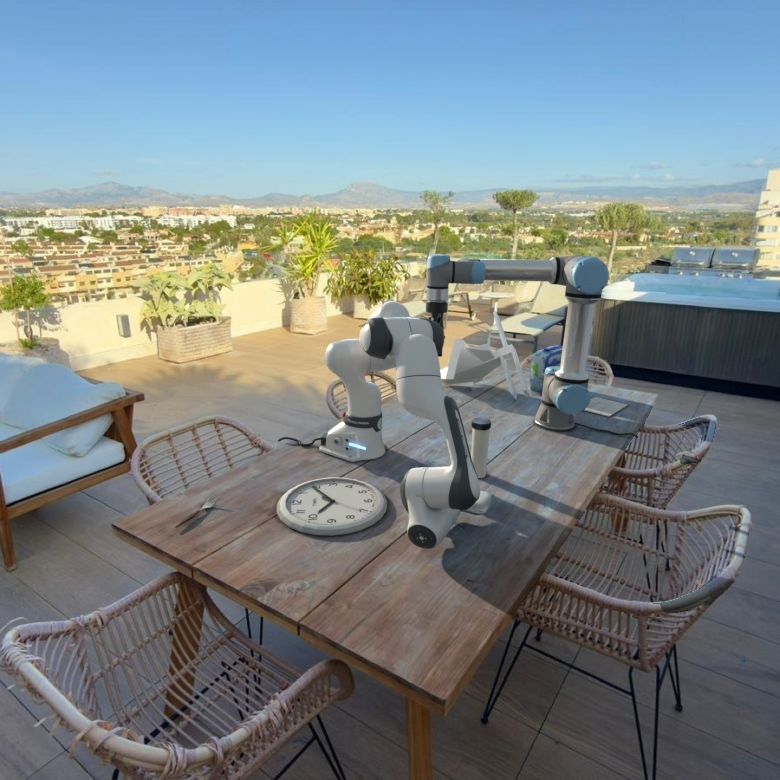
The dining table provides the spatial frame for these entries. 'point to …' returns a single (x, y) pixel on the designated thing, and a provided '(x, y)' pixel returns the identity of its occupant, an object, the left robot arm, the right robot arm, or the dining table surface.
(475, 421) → the lid
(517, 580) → the dining table surface
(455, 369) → the white plastic object
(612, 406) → the invitation card
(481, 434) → the white tall cylinder
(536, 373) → the lunch box
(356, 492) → the wall clock
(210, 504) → the fork
